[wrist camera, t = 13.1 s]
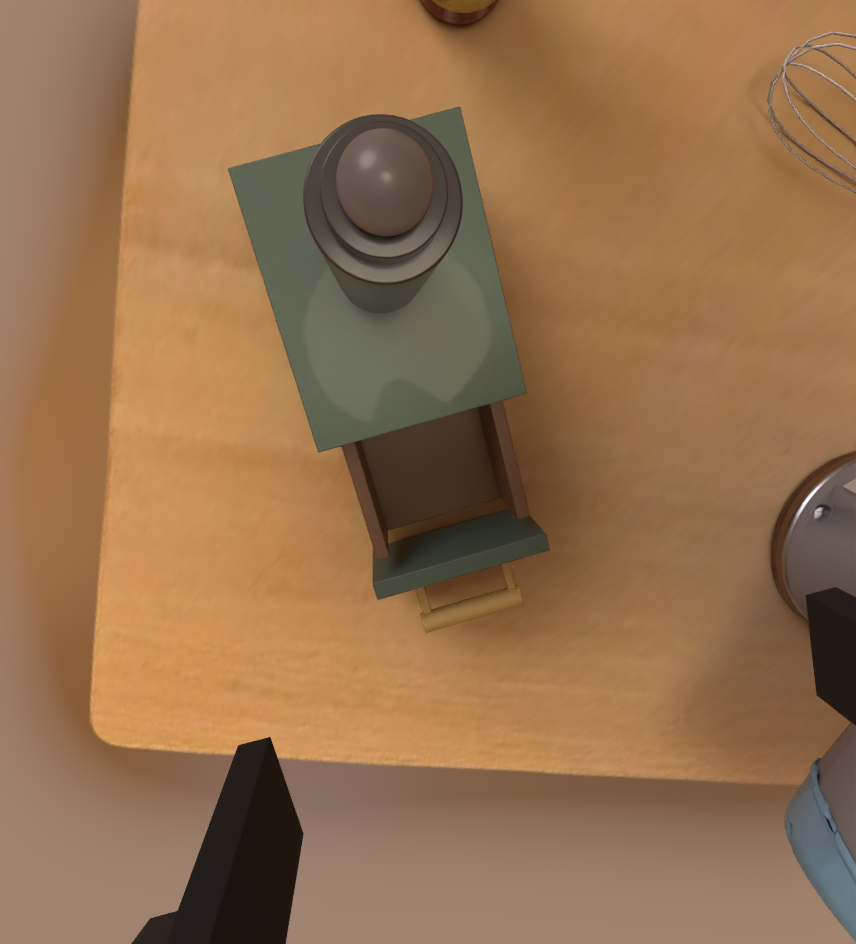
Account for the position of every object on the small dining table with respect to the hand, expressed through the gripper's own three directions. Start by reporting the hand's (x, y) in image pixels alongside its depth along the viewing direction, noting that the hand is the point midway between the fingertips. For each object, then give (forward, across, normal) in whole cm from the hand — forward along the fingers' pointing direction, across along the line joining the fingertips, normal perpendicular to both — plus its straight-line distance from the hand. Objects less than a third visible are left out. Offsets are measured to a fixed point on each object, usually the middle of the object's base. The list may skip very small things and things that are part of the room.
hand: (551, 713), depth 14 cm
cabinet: (+30, +1, -12) cm, 33 cm away
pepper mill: (+22, +1, -14) cm, 26 cm away
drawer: (+29, 0, 0) cm, 29 cm away
